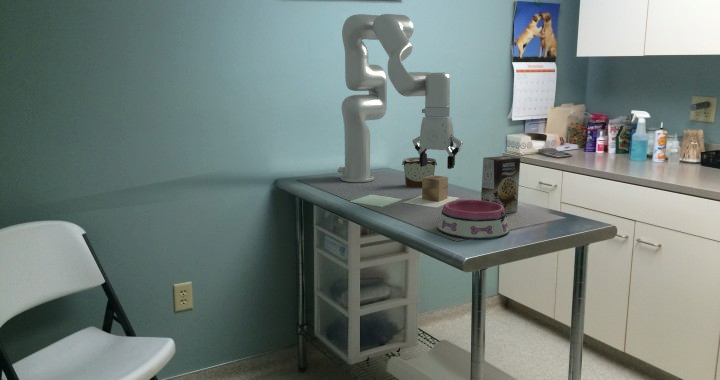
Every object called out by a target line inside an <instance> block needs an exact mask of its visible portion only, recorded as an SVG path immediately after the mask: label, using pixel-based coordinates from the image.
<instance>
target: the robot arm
mask: <svg viewBox="0 0 720 380" xmlns="http://www.w3.org/2000/svg"><path fill="white" fill-rule="evenodd" d="M414 29H415V28H414V23H413V21H412V19H411V18H410V17H409V16H407V15H405V14H394V13H393V14H392V13H384V14H383V13H382V14H380V15H379V14H377V15H376V14H363V13H362V14H361V13H359V14H353V15H349V16H348V17H347V18H346V19H345V20H344V23H343V25H342V31H341V38H342V43H343V48H344V72H345V73H344V74H345V75H344V78H345V85H346V88H347V89H348V90H350V91H353V92H368V94H353V95H348V96H346V97H345V98H344V99H343V101H342V103H341V114H342V119H343V128H344V129H343V130H344V131H343V133H344V166H339V167H338V168H337V173H342V175H341V176H340V180H341V181H342V182H346V183H368V182H372V181H374V180H375V176H374V175H373V174H371V133H370V129H369V127H368V125H367V123H366V121H376V120H380V119H383V118H384V117H385V115H386V114H387V113H386V112H387V108H388V79H389V80H390V83H391V84H392V85H393V87H394V88H395V91H396V92H397V93H398V94H400V95H401V96H403V97H425V98H424V100H425V101H424V105H425V107H424V108H422V109H421V114H424V117H422V120H421V124H420V131H419V132H420V133H419V136H417V137H415V138H414V139H412V140H411V141H412V143H413V146H414V149H415V150H416V151H417V154H418V155H419V157H420V166H421V167H423V166H426V165H427V158H428V154H427V151H428V150H433V151H435V150H436V151H445V152H446V153H447V154H448V156H447V169H448V170H451V169H454V168H455V165H456V155H457V154H458V153H459V152H460V151H461V149H462V146H463V144H464V142H463V141H462V140H460V139H459V138H457V137H455V136H454V133H455V132H454V126H453V125H454V124H453V119H452V117H450V115H451V114H450V104H451V103H450V101H451V100H450V99H451V98H450V97H451V95H450V92H451V90H450V89H451V88H450V87H451V78H450V74H449V73H447V72H429V71H427V72H423V71H422V72H421V71H420V72H419V71H411V72H409V71H407V69H406V68H405V66H404V64H403V61H405V60H407V58H408V57H409V56H411V54H412V51H413V44H412V42H411V41H410V38H411V37H412V36H413V34H414ZM363 40H368V41H369V40H370V41H371V40H372V41H373V40H374V41H375V40H376V41H379V43H380V44H381V47H383V49H384V51H385V53H386V54H387V56H388V60H387V74H386V71H385V69H384V68H383V66H380V65H378V64H370V63H369V50H368V48H367V46H366V44H365V42H364V41H363ZM387 76H388V78H387ZM455 144H456V146H455V148H454V145H455Z"/></svg>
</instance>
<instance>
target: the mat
mask: <svg viewBox="0 0 720 380" xmlns="http://www.w3.org/2000/svg"><path fill="white" fill-rule="evenodd" d="M402 200H403V199H402V198H397V197H390V196H386V195H385V196H384V195H383V196H382V195H379V194H378V195H377V194H368V195H365V196H363V197H358V198H356V199H352V200H350V201H349V203H353V204H354V203H355V204H359V205H366V206H372V207H373V206H374V207H378V208H383V207H386V206H389V205H391V204H395V203H397V202H400V201H402Z"/></svg>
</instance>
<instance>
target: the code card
mask: <svg viewBox="0 0 720 380" xmlns="http://www.w3.org/2000/svg"><path fill="white" fill-rule="evenodd" d="M456 200H460V197H457V196H456V197H455V196H449V195H448V198H447V199H445V200H442V201H440V202H436V201H429V200H423V199H422V195H419V196H416V197H413V198H411V199H408V200H406V201H402V204H403V203H405V204H411V205H418V206H424V207H429V208H431V207H432V208H435V209H437V208H439V207H442V206H444V205H445V204H446V203H448V202H451V201H456Z"/></svg>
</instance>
